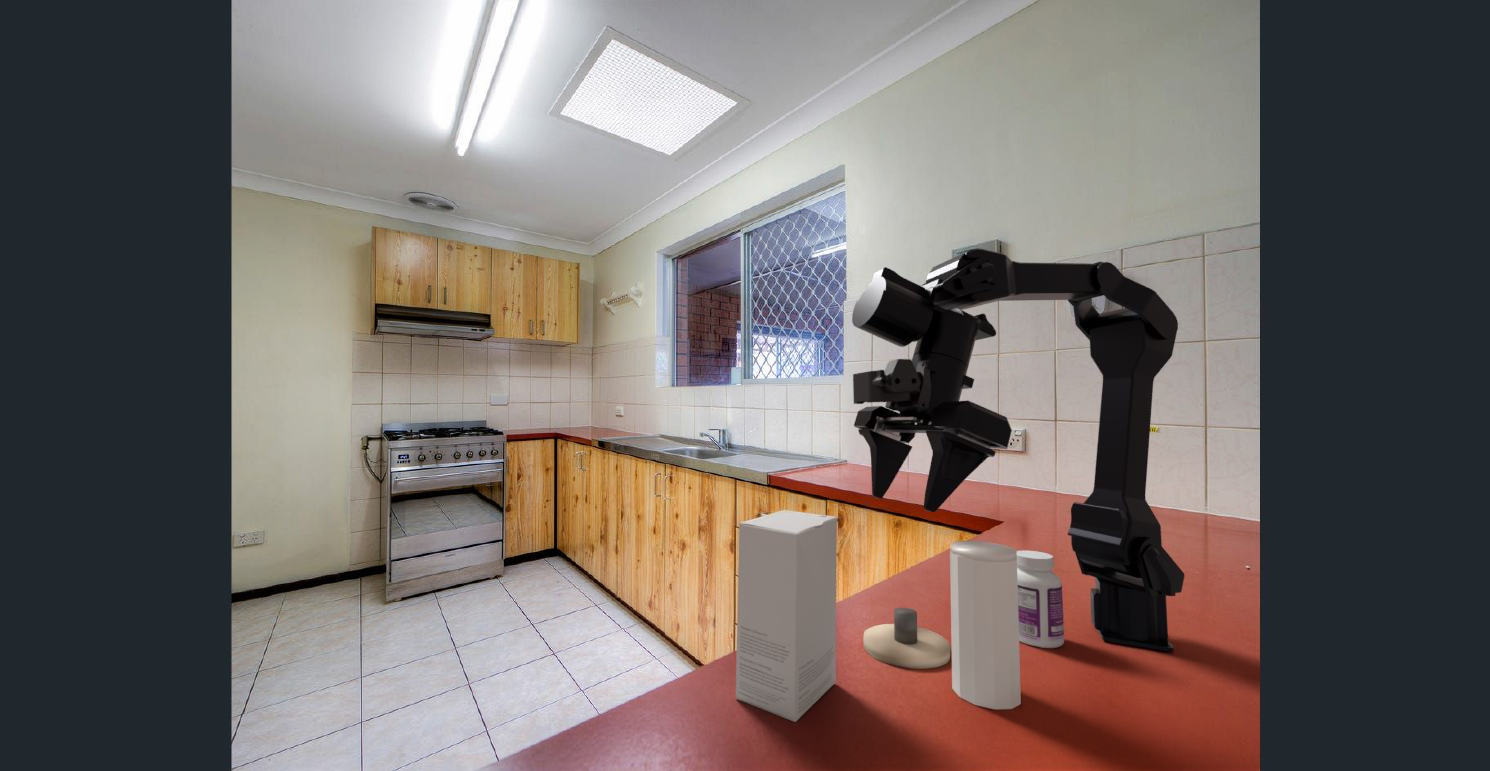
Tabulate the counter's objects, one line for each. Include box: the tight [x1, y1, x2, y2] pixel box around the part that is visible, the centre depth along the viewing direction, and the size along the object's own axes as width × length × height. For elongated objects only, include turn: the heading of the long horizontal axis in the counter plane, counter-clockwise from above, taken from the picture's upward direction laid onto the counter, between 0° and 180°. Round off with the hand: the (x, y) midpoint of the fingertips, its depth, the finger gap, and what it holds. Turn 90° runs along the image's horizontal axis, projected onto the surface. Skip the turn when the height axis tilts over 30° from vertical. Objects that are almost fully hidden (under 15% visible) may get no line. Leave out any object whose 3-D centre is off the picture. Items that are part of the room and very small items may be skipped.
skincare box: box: [735, 509, 838, 723], centre depth 47 cm, size 8×7×16 cm
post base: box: [863, 607, 951, 670], centre depth 56 cm, size 9×9×4 cm
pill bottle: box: [1016, 550, 1065, 649], centre depth 59 cm, size 5×5×10 cm
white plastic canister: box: [949, 540, 1022, 710], centre depth 47 cm, size 6×6×13 cm
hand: (900, 503), depth 52 cm, fingers open, 9 cm apart
